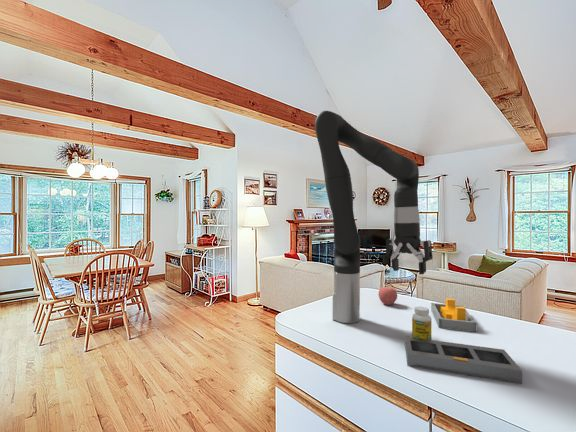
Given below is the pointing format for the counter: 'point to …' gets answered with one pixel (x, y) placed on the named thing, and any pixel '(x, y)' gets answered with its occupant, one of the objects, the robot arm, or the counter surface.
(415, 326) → the supplement bottle
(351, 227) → the robot arm
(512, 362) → the three-compartment grey tray
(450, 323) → the clamp tray
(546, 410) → the counter surface
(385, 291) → the apple
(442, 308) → the pipe clamp
